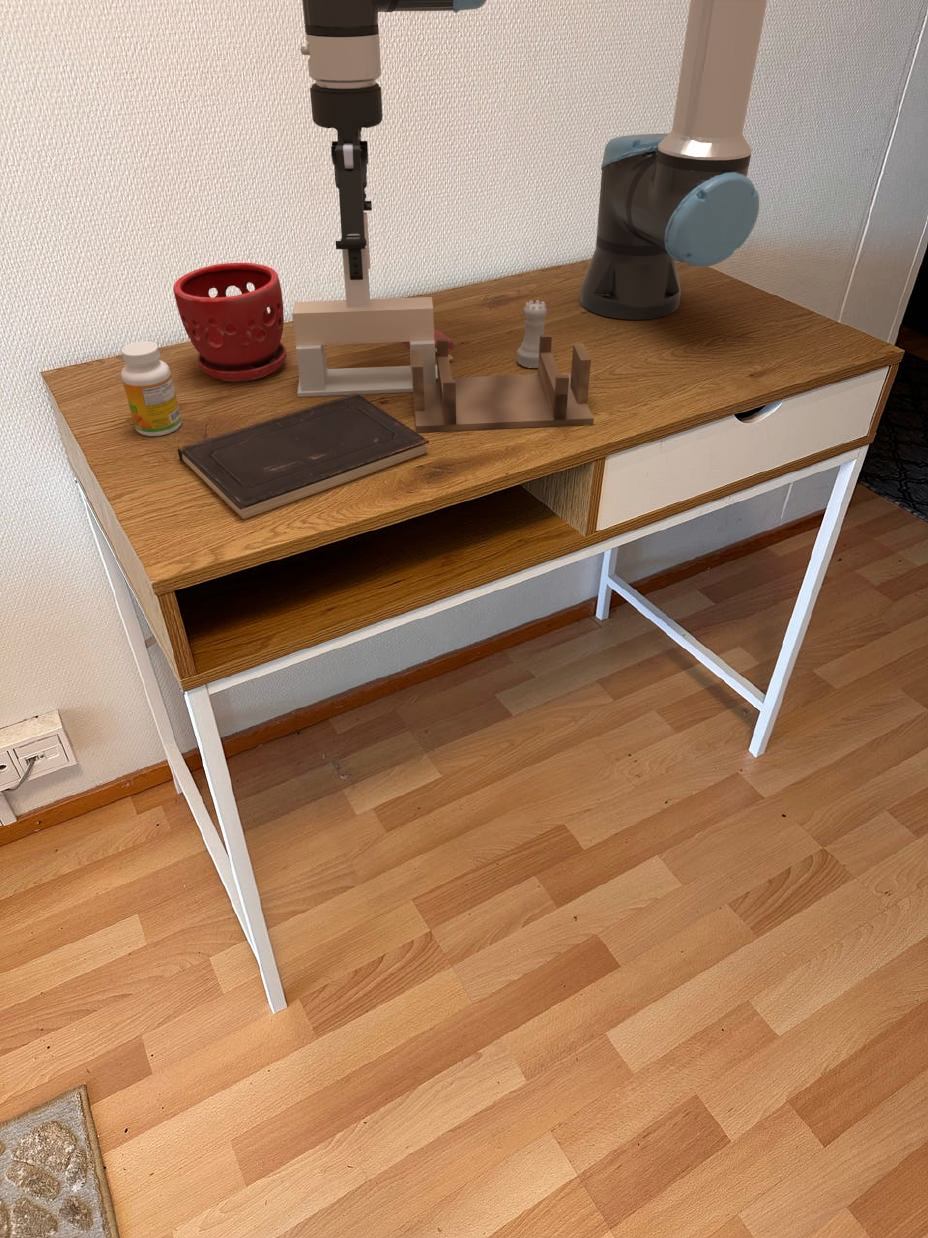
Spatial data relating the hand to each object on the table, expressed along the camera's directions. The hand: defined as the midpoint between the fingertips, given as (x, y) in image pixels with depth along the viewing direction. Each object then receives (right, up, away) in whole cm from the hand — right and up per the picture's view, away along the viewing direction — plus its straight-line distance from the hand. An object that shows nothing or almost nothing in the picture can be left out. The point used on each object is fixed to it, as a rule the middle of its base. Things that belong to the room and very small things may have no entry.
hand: (359, 286), depth 106 cm
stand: (0, -9, +8) cm, 12 cm away
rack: (+17, -14, +3) cm, 22 cm away
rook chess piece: (+22, -6, +12) cm, 26 cm away
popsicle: (+7, -2, +18) cm, 20 cm away
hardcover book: (-5, -22, -7) cm, 24 cm away
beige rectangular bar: (0, -5, +4) cm, 6 cm away
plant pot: (-17, -7, +12) cm, 22 cm away
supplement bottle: (-24, -17, -1) cm, 29 cm away
